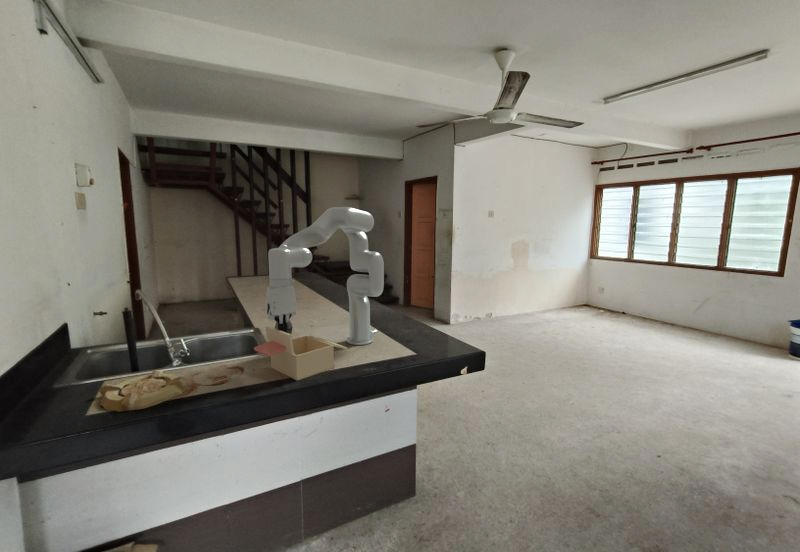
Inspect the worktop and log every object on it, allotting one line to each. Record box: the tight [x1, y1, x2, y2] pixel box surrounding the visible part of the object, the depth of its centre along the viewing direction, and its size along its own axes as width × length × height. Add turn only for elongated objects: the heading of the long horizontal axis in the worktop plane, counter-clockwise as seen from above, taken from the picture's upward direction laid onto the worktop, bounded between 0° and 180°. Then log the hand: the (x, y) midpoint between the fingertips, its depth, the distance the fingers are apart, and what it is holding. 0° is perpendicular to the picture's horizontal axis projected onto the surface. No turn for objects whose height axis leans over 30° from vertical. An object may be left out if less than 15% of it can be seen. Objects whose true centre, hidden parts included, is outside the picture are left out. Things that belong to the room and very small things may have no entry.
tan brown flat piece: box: [98, 369, 188, 412], centre depth 121 cm, size 24×24×5 cm
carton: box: [270, 335, 335, 381], centre depth 143 cm, size 16×18×9 cm
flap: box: [253, 325, 294, 357], centre depth 132 cm, size 7×17×8 cm
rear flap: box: [308, 335, 348, 350], centre depth 151 cm, size 7×17×1 cm, turn 47°
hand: (283, 333), depth 136 cm, fingers closed
